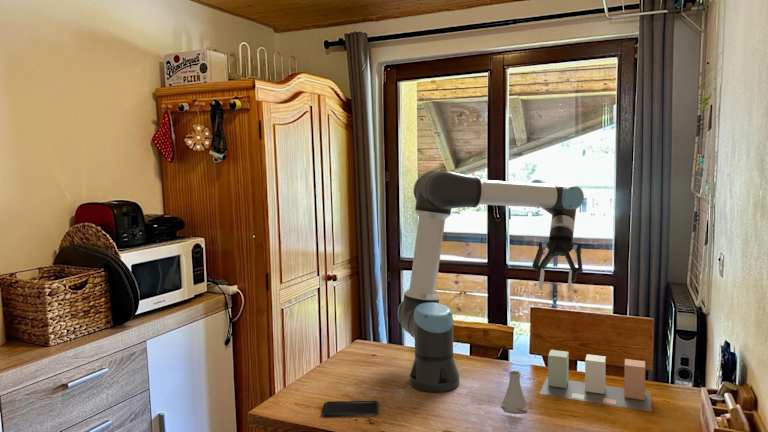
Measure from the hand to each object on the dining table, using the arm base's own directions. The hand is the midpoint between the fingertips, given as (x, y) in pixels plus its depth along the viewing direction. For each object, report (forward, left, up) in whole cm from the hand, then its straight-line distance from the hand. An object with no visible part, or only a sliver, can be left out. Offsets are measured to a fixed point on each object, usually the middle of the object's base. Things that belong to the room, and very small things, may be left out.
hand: (554, 288), depth 164 cm
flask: (-6, -31, -27) cm, 41 cm away
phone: (-47, -49, -27) cm, 73 cm away
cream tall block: (+13, -14, -25) cm, 31 cm away
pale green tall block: (+3, -14, -25) cm, 29 cm away
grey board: (+13, -16, -27) cm, 33 cm away
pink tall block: (+23, -14, -25) cm, 37 cm away
